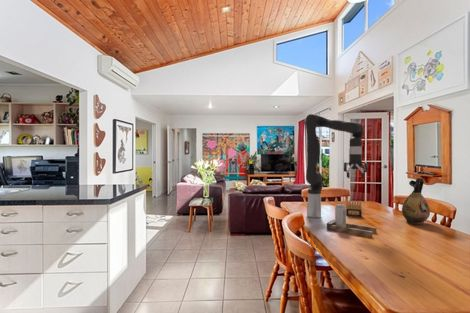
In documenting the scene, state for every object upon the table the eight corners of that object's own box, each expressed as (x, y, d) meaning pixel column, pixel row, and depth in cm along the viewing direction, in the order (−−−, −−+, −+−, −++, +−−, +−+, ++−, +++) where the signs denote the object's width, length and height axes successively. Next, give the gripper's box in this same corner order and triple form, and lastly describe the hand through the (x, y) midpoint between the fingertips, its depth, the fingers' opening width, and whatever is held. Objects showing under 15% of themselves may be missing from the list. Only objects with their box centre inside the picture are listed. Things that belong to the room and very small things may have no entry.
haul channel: (326, 229, 160) (326, 223, 160) (333, 225, 169) (333, 219, 169) (371, 237, 144) (371, 230, 144) (376, 232, 153) (376, 225, 153)
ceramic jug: (421, 227, 164) (421, 179, 164) (396, 221, 178) (396, 177, 178) (436, 223, 172) (436, 178, 172) (411, 218, 186) (411, 176, 186)
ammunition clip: (361, 216, 194) (361, 200, 194) (361, 216, 193) (361, 200, 192) (346, 215, 199) (346, 199, 199) (346, 215, 197) (345, 199, 197)
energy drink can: (337, 227, 165) (337, 203, 165) (347, 229, 161) (347, 204, 161) (333, 229, 161) (333, 204, 161) (344, 231, 157) (344, 206, 157)
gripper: (342, 153, 173) (342, 178, 173) (365, 153, 164) (365, 179, 164) (345, 153, 178) (345, 177, 179) (368, 153, 169) (368, 178, 169)
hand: (355, 178), depth 171 cm, fingers open, 8 cm apart
